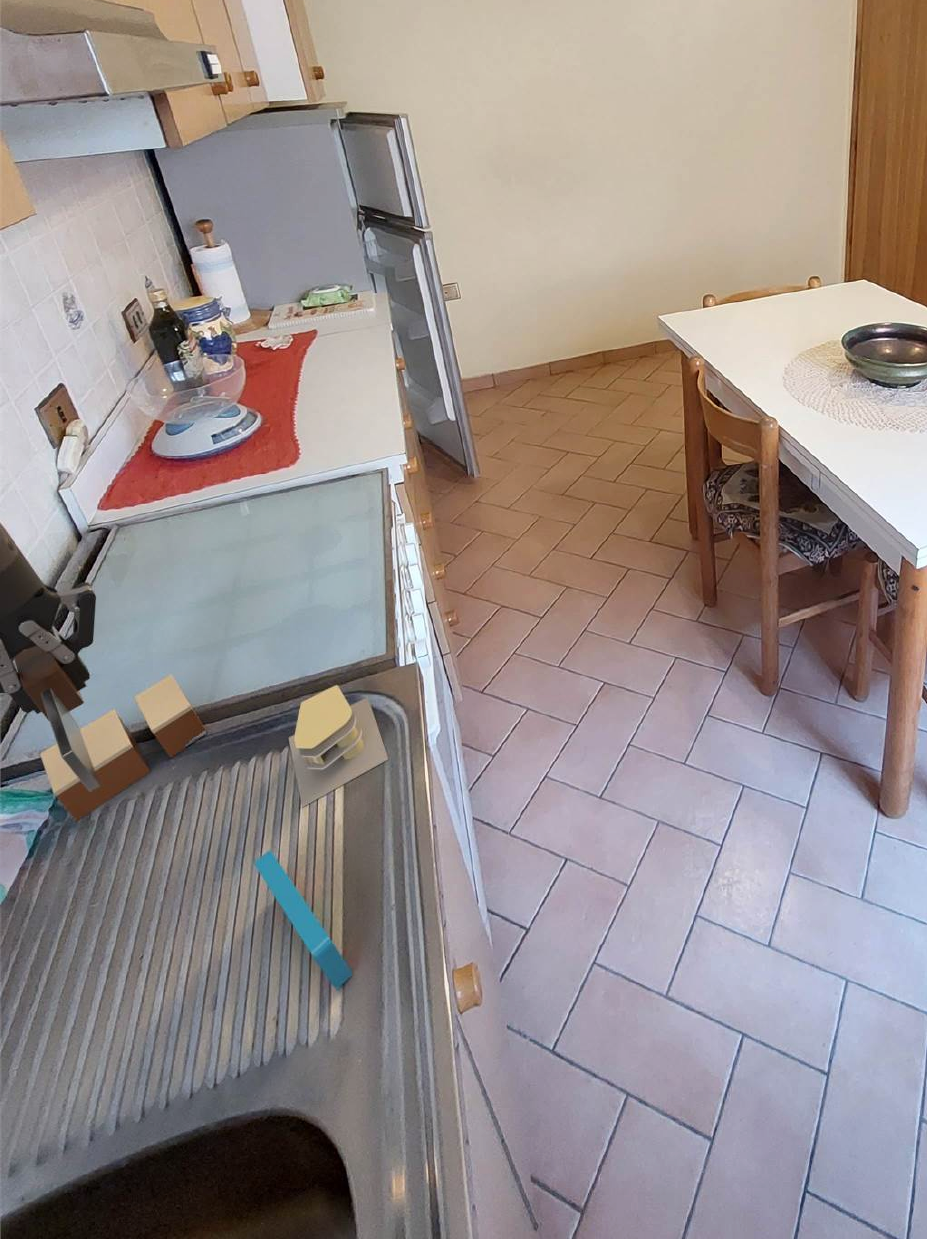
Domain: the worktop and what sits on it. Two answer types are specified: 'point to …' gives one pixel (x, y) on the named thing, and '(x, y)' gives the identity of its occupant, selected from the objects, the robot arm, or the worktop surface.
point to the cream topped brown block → (169, 715)
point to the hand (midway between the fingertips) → (60, 695)
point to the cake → (97, 765)
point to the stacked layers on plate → (333, 743)
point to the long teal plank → (303, 920)
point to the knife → (57, 708)
